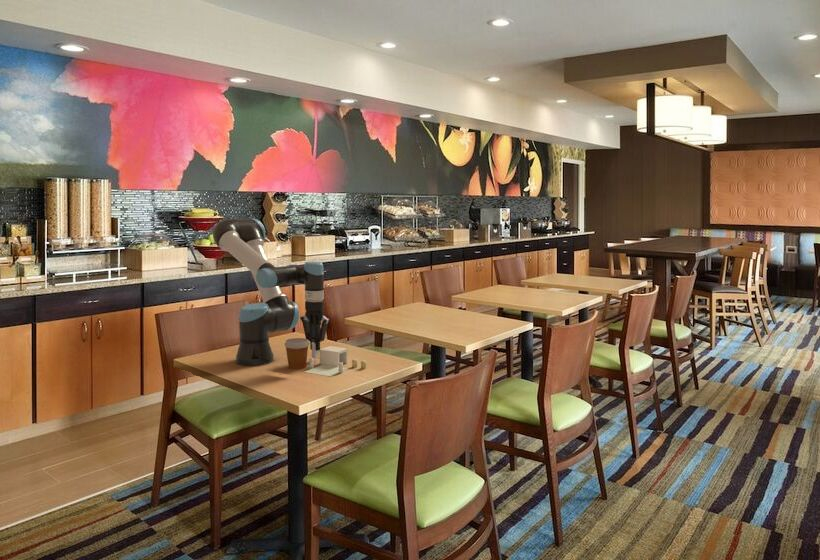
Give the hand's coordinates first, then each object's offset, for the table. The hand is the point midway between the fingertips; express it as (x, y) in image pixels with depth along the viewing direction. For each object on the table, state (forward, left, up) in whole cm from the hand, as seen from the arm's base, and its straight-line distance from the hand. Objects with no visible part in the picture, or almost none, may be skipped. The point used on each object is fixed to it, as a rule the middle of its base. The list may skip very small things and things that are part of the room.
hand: (315, 357), depth 256 cm
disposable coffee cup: (-1, -11, -3) cm, 11 cm away
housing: (+9, 0, -1) cm, 9 cm away
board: (+15, -6, -3) cm, 16 cm away
